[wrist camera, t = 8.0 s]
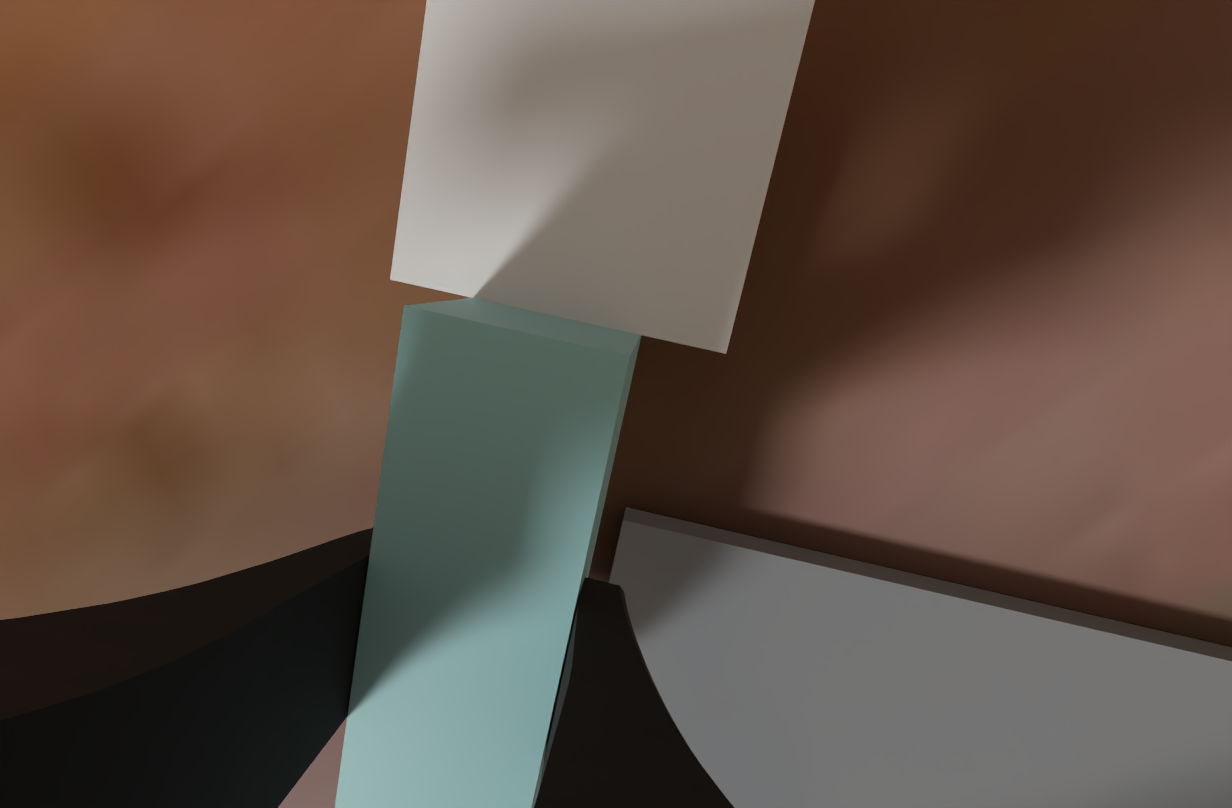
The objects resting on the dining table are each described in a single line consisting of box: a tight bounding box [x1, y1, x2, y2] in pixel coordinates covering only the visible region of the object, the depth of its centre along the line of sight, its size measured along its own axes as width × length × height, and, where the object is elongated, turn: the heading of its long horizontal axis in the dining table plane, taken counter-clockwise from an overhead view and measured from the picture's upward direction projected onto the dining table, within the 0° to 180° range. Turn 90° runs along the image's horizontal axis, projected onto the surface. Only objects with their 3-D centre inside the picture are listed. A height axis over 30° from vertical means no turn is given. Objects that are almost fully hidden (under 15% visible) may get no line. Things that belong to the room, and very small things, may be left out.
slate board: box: [609, 507, 1232, 808], centre depth 16 cm, size 11×22×1 cm, turn 78°
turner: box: [335, 0, 815, 808], centre depth 10 cm, size 16×6×4 cm, turn 168°
